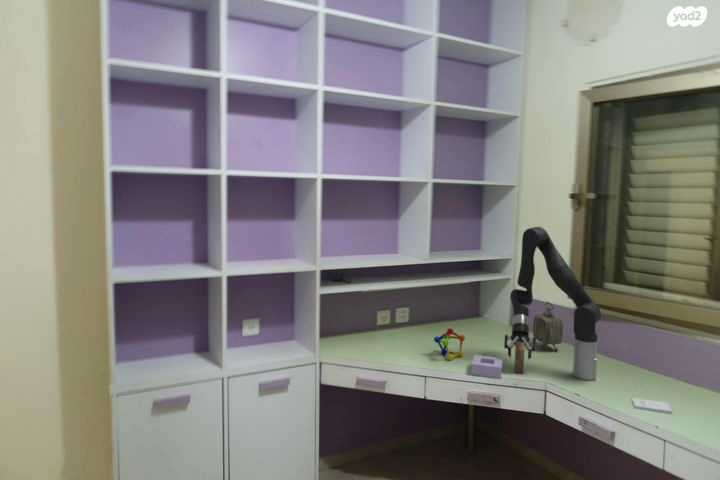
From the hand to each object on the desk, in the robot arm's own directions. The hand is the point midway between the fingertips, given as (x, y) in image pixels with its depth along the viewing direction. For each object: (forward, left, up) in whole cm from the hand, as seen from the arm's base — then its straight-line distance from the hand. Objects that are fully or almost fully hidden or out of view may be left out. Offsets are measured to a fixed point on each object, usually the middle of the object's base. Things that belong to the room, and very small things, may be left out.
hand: (519, 357), depth 220 cm
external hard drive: (-49, +18, -8) cm, 53 cm away
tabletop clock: (-14, -42, -8) cm, 45 cm away
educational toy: (+34, -11, -8) cm, 37 cm away
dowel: (0, -1, -8) cm, 8 cm away
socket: (+14, +3, -8) cm, 16 cm away
